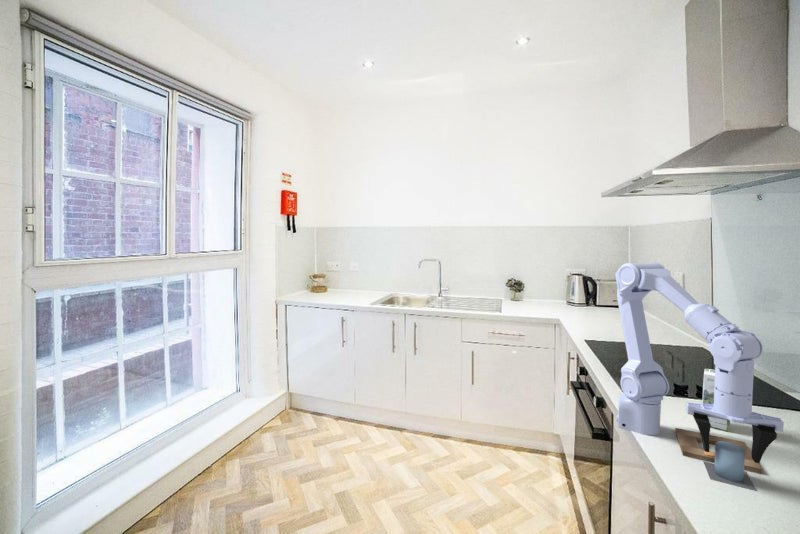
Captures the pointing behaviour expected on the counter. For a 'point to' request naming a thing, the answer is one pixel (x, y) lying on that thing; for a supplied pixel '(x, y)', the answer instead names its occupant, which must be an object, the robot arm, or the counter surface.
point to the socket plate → (692, 449)
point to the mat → (713, 476)
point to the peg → (729, 461)
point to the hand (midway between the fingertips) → (730, 455)
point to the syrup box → (712, 399)
